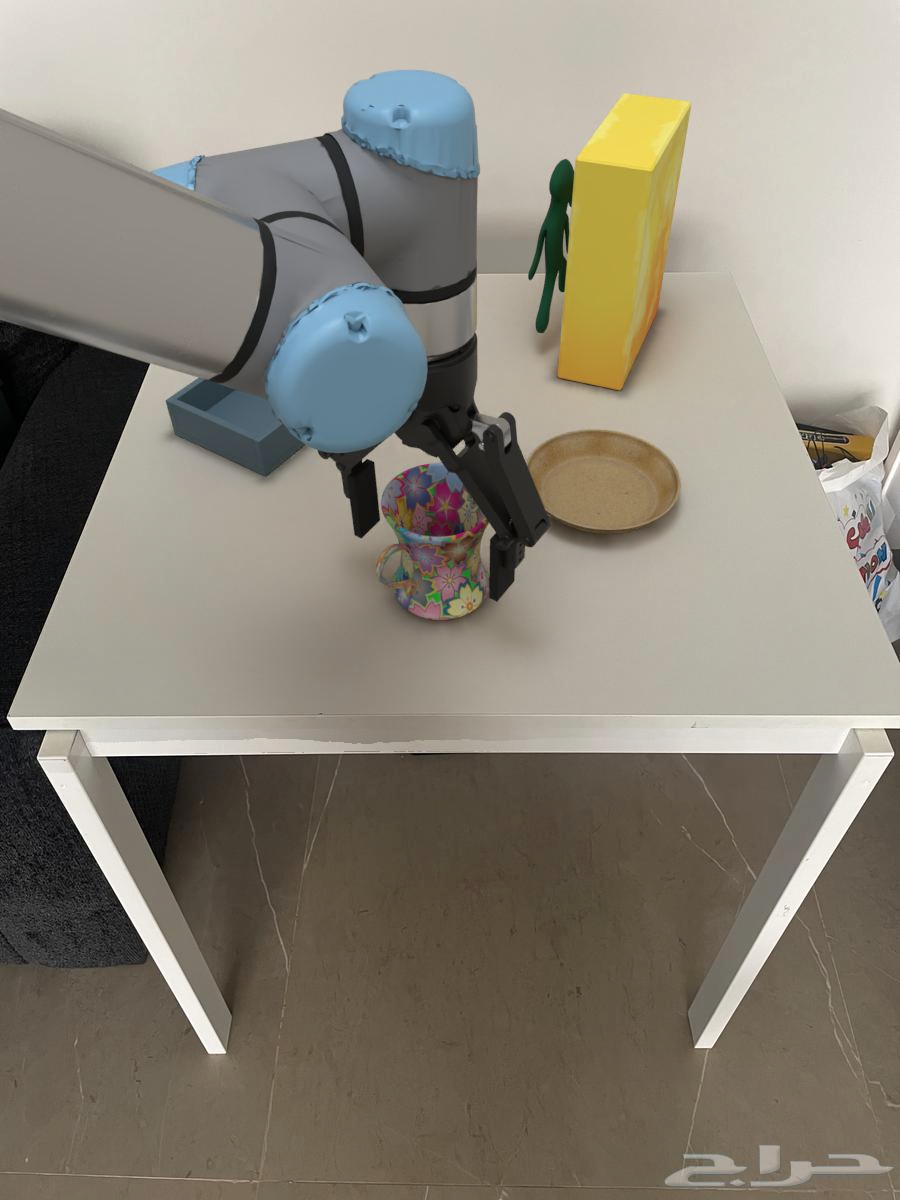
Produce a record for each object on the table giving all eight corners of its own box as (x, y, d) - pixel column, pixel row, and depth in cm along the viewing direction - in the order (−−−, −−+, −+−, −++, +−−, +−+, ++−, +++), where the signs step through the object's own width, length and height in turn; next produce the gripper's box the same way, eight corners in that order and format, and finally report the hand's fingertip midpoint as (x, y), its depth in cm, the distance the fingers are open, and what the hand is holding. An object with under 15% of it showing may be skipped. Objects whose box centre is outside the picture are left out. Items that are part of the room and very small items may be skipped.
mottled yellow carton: (558, 294, 117) (575, 86, 100) (657, 312, 114) (692, 100, 97) (513, 369, 106) (522, 150, 89) (620, 391, 103) (652, 168, 86)
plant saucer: (634, 437, 98) (638, 416, 96) (704, 528, 88) (709, 507, 86) (500, 467, 95) (501, 446, 93) (558, 565, 85) (560, 544, 83)
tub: (174, 434, 99) (165, 400, 96) (272, 363, 108) (267, 330, 104) (265, 476, 94) (258, 442, 91) (360, 399, 103) (357, 365, 100)
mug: (436, 539, 88) (434, 447, 80) (515, 585, 83) (520, 494, 76) (344, 612, 82) (332, 521, 74) (424, 666, 77) (419, 576, 70)
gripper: (614, 361, 61) (586, 588, 76) (312, 261, 70) (342, 481, 86) (556, 422, 56) (539, 649, 72) (244, 306, 66) (289, 528, 82)
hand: (432, 558), depth 79 cm, fingers open, 13 cm apart
